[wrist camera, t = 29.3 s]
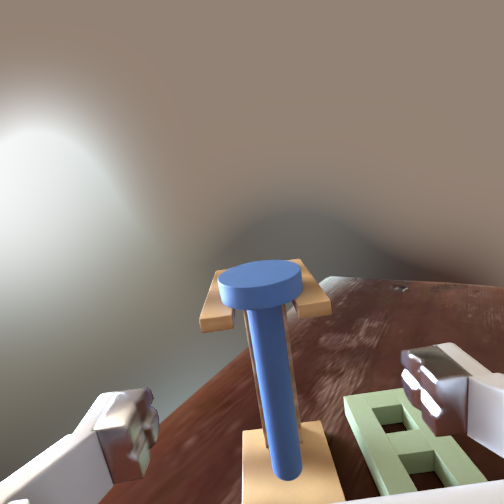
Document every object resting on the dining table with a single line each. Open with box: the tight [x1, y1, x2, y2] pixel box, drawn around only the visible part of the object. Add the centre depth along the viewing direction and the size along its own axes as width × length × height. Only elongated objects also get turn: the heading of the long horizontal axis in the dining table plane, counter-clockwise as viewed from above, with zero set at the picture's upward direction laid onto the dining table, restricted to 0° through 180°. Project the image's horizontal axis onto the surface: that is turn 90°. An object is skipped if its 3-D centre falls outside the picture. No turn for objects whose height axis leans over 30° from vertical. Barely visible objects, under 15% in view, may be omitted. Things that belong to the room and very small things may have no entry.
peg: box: [218, 260, 303, 481], centre depth 23 cm, size 6×6×18 cm
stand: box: [199, 259, 346, 504], centre depth 26 cm, size 11×9×21 cm
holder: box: [344, 388, 488, 496], centre depth 29 cm, size 8×14×2 cm, turn 1°
